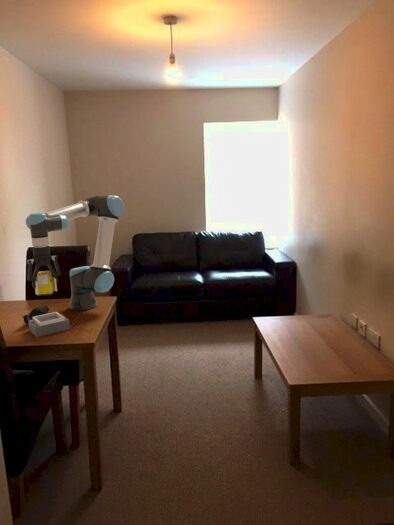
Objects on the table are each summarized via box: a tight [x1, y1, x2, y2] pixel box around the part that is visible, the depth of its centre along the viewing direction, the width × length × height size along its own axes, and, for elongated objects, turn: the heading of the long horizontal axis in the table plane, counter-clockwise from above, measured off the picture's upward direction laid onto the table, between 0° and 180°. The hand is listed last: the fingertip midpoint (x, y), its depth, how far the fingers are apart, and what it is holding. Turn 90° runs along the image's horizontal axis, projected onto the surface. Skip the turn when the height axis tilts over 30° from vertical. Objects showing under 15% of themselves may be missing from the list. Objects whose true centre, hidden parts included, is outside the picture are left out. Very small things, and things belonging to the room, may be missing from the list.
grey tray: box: [28, 311, 71, 338], centre depth 208 cm, size 16×12×6 cm
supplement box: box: [36, 270, 55, 297], centre depth 204 cm, size 6×6×11 cm
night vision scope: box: [21, 305, 49, 325], centre depth 221 cm, size 8×18×10 cm
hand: (46, 292), depth 205 cm, fingers closed on supplement box, 8 cm apart
